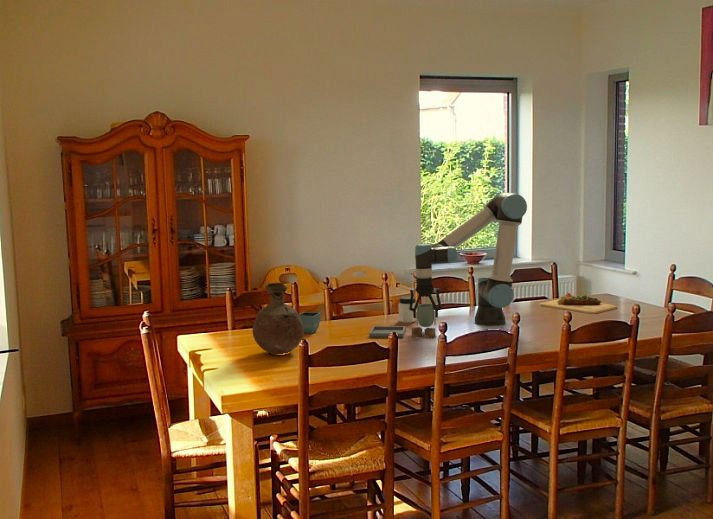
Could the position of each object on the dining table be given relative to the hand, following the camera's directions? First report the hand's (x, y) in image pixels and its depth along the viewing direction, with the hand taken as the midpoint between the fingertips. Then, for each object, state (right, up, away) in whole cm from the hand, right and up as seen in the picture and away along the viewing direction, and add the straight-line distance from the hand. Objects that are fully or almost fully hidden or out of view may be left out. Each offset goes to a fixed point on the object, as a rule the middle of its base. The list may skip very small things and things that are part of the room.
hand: (426, 324), depth 362 cm
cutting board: (+87, +4, +53) cm, 102 cm away
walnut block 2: (+1, -5, -11) cm, 12 cm away
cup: (0, -1, 0) cm, 1 cm away
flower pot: (-55, -4, +5) cm, 56 cm away
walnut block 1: (-5, -5, -9) cm, 11 cm away
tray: (-18, -4, -2) cm, 19 cm away
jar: (-7, -1, +26) cm, 27 cm away
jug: (-66, -10, -34) cm, 75 cm away
